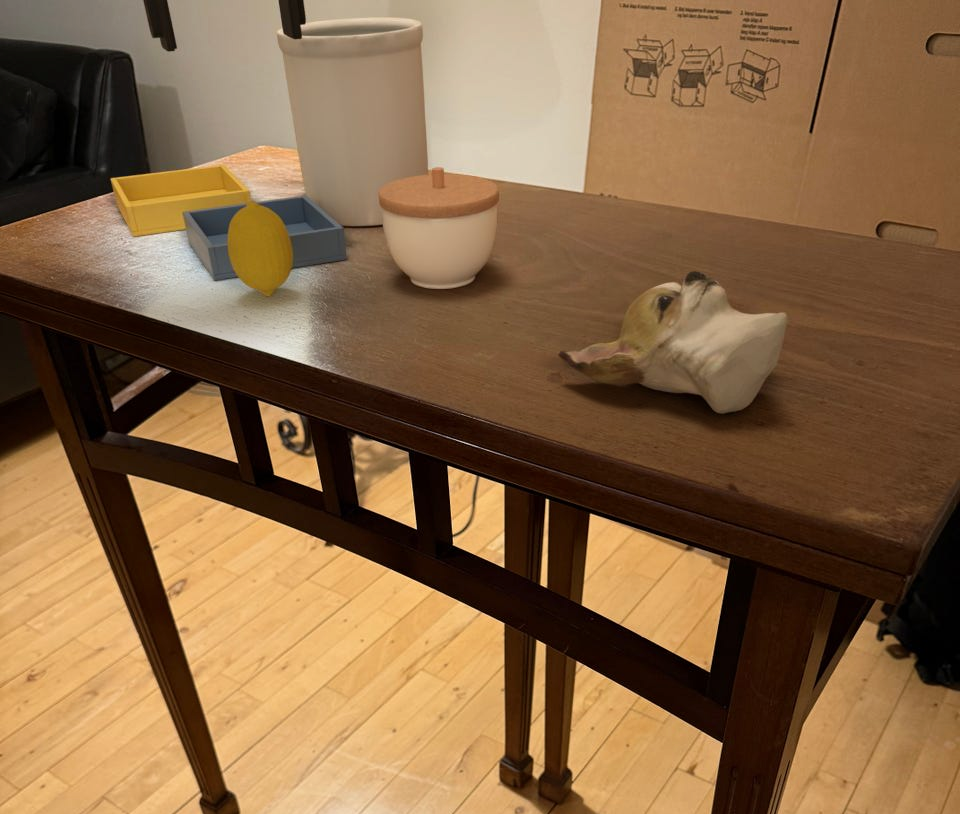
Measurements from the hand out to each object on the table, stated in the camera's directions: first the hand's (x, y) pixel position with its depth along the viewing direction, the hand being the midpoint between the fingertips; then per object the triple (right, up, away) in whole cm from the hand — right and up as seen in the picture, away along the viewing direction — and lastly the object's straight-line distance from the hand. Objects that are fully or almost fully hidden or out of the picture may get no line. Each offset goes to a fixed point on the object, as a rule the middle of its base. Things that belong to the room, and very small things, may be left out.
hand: (232, 43), depth 70 cm
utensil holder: (+6, +3, +33) cm, 34 cm away
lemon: (0, -15, +13) cm, 20 cm away
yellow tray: (-15, +3, +34) cm, 37 cm away
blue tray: (-3, -6, +22) cm, 23 cm away
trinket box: (+16, -12, +15) cm, 25 cm away
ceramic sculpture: (+33, -28, -4) cm, 44 cm away
